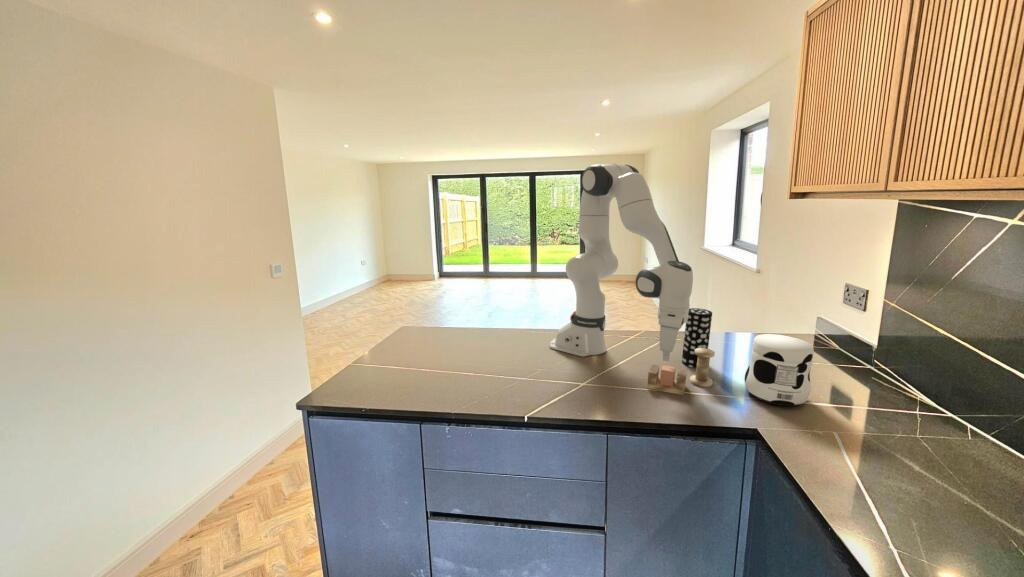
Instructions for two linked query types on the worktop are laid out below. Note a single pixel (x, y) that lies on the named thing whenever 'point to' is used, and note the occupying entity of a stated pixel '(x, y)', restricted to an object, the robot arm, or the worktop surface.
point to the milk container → (780, 369)
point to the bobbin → (702, 368)
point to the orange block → (667, 375)
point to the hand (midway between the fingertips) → (667, 355)
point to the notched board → (676, 389)
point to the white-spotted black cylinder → (696, 334)
